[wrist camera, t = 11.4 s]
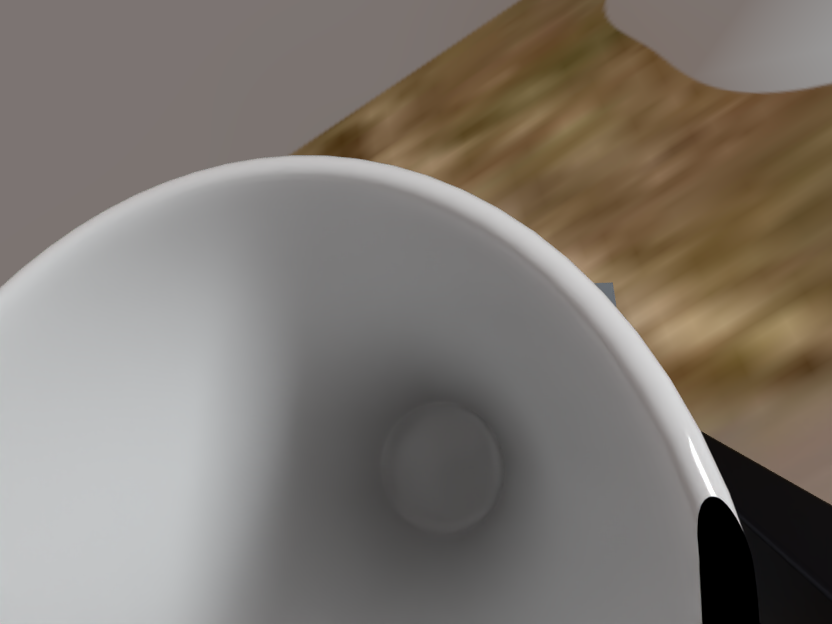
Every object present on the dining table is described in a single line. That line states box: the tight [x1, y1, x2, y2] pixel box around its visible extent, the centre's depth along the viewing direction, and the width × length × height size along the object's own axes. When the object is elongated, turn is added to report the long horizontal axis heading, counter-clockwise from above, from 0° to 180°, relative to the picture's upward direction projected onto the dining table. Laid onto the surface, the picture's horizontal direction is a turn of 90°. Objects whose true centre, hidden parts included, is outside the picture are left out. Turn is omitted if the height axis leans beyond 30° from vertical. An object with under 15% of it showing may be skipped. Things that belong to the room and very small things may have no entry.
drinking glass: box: [0, 155, 760, 624], centre depth 9 cm, size 7×7×15 cm
